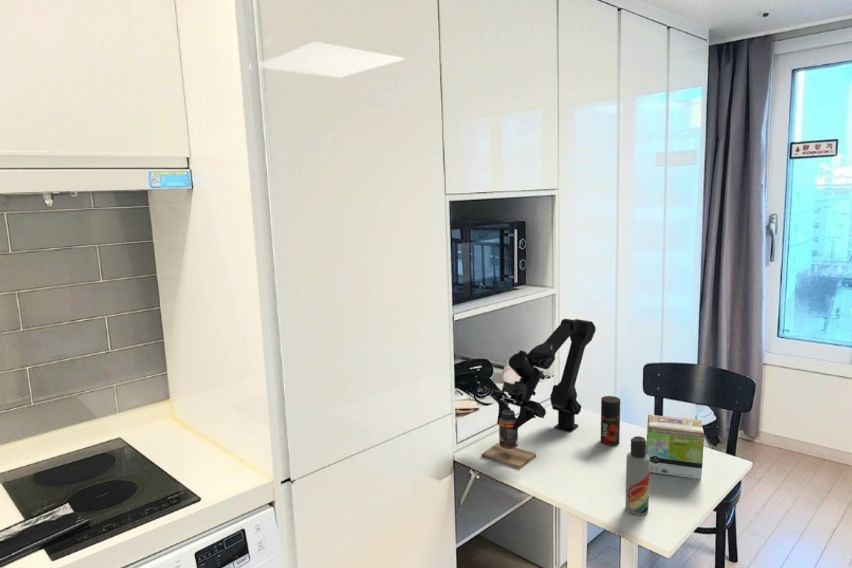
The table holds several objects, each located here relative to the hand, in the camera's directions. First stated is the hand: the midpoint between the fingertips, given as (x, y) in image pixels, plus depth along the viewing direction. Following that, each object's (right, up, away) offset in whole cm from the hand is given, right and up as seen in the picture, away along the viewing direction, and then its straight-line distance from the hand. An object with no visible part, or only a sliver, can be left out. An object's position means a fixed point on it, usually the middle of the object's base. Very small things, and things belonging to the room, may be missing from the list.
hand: (505, 427), depth 182 cm
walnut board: (+1, -10, +2) cm, 10 cm away
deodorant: (+36, -8, +10) cm, 38 cm away
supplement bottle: (+1, -7, +2) cm, 7 cm away
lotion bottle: (+30, -15, -30) cm, 45 cm away
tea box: (+49, -11, -9) cm, 51 cm away
